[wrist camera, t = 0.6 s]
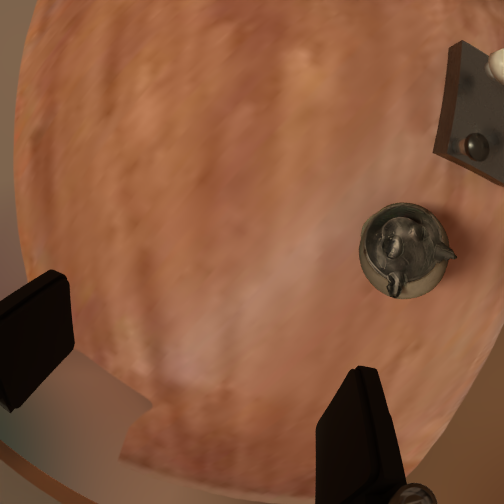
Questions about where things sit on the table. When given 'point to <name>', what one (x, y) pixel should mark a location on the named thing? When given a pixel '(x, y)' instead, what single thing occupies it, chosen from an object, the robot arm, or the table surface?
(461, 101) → the mount
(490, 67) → the knob
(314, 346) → the table surface
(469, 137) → the dark brown round knob
